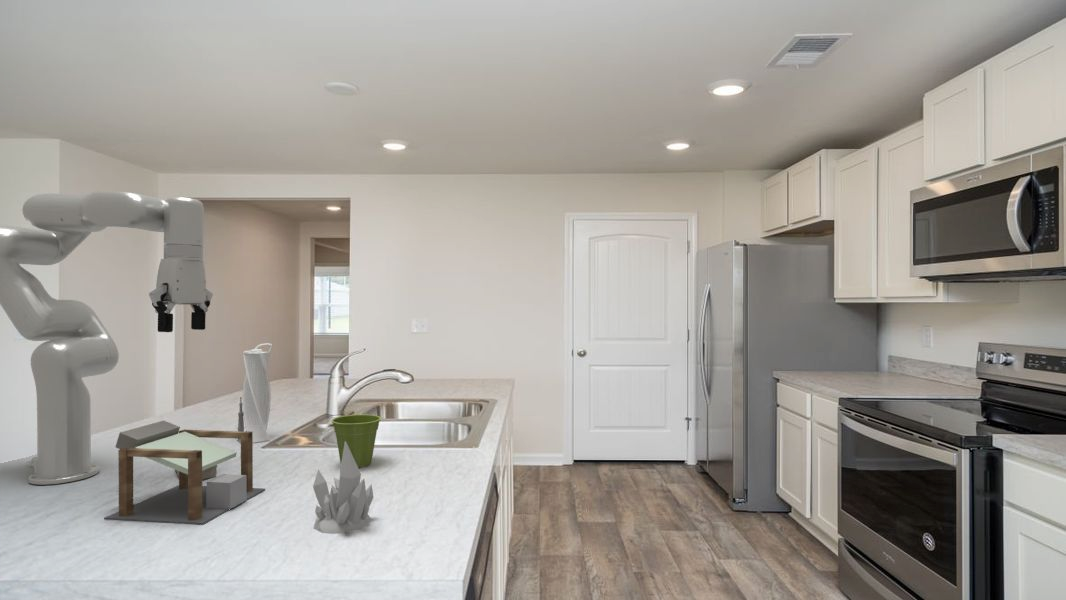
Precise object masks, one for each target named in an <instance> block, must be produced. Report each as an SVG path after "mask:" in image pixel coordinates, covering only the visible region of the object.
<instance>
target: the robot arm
mask: <svg viewBox="0 0 1066 600" xmlns="http://www.w3.org/2000/svg"><path fill="white" fill-rule="evenodd" d="M21 211H22V214H23V217H24V219H25V220H26V221H27V222H28V224H30V225H32V226H33V227H36V228H38V229H36V228H27V227H20V226H19V227H18V226H9V225H0V306H1V308H2V309H3V311H4V312H5V313H6V315H7V316H8V319H9V320H10V321H11V323H12V325H13V327H15V329H16V331H17V332H18V333H19V334H20V336H22V337H23V339H25V340H28V341H32V342H42V343H40V344H39V345H37V346H36V347H35V349H33V351H32V353H31V357H30V366H31V367H30V368H31V372H32V376H33V379H34V385H35V390H36V391H35V392H36V422H37V424H36V425H37V428H36V431H37V432H36V433H37V434H36V436H37V437H36V439H37V440H36V442H37V444H36V445H37V446H36V447H37V448H36V449H37V452H36V453H37V456H34V457H32V459H31V460H30V461H27V462H26V463H25V468H27V469H29V468H30V469H31V468H33V473H32V474H30V475H29V476H28V477H27V478H28V479H27V480H28V483H30V484H31V485H36V486H37V485H38V486H39V485H57V484H58V485H59V484H65V483H71V482H76V481H81V480H83V479H87V478H90V477H92V476H96V474H98V473H99V472H100V466H99V465H97V464H93V463H92V461H91V460H92V459H91V457H92V453H91V449H92V447H91V446H92V445H91V441H92V439H91V436H92V435H91V432H92V431H91V425H92V423H91V396H90V395H91V394H90V391H89V389H88V387H87V385H86V384H85V382H84V381H83V378H87V377H88V378H89V377H93V376H99V375H103V374H106V373H109V372H111V371H112V370H113V369H115V367H116V366H117V364H118V362H119V355H120V354H119V349H118V346H117V344H116V343H115V341H114V339H113V338H112V336H111V334H110V332H108V330H107V328H106V327H105V325H104V324H103V322H102V321H101V319H100V318H99V316H98V315H97V313H96V312H95V310H93V309H92V308H91V306H89V305H88V304H86V303H85V302H82V301H79V300H76V299H75V300H74V299H56V298H54V297H52V296H51V295H50V294H49V293H48V291H47V290H46V288H45V287H44V285H43V283H42V282H41V281H40V280H39V279H38V278H37V277H36V276H35V275H34V274H32V273H31V272H30V271H28V270H26V269H25V268H24V267H22V265H31V266H33V265H34V266H52V265H53V266H54V265H56V264H58V263H61V262H62V261H64V260H65V259H66V258H67V257H68V256H69V255H70V254H71V253H72V252H74V250H76V248H78V247H79V246H80V245H81V244H82V243H83V242H84V241H85V240H86V239H87V238H88V237H89V236H90V235H91V234H92V233H96V232H97V233H98V232H102V231H104V230H105V229H106V228H107V227H113V228H114V227H118V228H128V229H129V228H130V229H137V230H144V231H148V232H149V231H151V232H156V233H163V258H160V262H159V265H158V269H157V275H156V276H157V277H156V284H155V286H156V287H155V289H153V290H151V291H149V293H148V296H149V298H150V301H151V302H152V303H151V305H152V307H153V309H155V310H154V311H155V313H156V314H157V332H159V333H172V332H173V331H174V313H171V312H172V311H173V310H174V308H175V306H176V305H179V306H180V305H183V306H184V305H189V306H190V307H191V309H192V311H191V323H190V324H191V325H190V327H191V330H196V331H197V330H198V331H200V330H201V331H205V330H206V313H208V310H209V307H210V305H211V301H212V298H213V296H214V294H213V293H212V291H210V290H208V289H207V279H206V269H205V264H204V226H205V225H204V223H205V222H204V221H205V220H204V215H205V214H204V212H205V209H204V204H203V202H202V201H201V200H199V199H196V198H192V197H191V198H190V197H185V196H184V197H183V196H173V197H168V198H167V199H165V198H164V199H163V198H158V197H155V196H150V195H145V194H141V193H138V192H137V193H135V192H129V191H94V192H91V193H51V192H49V193H39V194H35V195H32V196H31V197H29V198H27V199H26V200H25V201H24V203H23V205H22V210H21ZM43 341H44V342H43Z"/></svg>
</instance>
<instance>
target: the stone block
mask: <svg viewBox="0 0 1066 600" xmlns="http://www.w3.org/2000/svg"><path fill="white" fill-rule="evenodd" d="M205 484H206V485H205V486H206V508H221V509H230V510H232V509H234V508H236V507H238V506H239V505H241V504H243V503H245V502H247V501H248V500H247V478H246V475H241V474H231V473H228V474H227V473H223V474H221V475H219V476H217V477H216V476H215V477H213V478H211V479H209V480H208V481H206V483H205ZM246 500H247V501H246ZM244 501H245V502H244ZM242 502H243V503H242ZM240 503H241V504H240ZM238 504H239V505H238ZM237 505H238V506H237ZM235 506H236V507H235ZM233 507H234V508H233ZM231 508H232V509H231Z"/></svg>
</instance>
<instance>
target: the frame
mask: <svg viewBox="0 0 1066 600" xmlns="http://www.w3.org/2000/svg"><path fill="white" fill-rule="evenodd" d="M182 432H187V433H190V434H192V435H195V436H197V437H200V438H212V439H213V438H214V439H235V440H238V439H241V443H240V475H246V478H247V492H250V491H251V490H253V488H254V487H253V485H254V483H253V482H254V480H253V479H254V476H253V473H254V472H253V468H254V467H253V466H254V464H253V462H254V461H253V457H254V456H253V455H254V454H253V451H254V449H253V448H254V446H253V444H254V443H253V434H252V432H248V431H246V430H244V432H241V431H238V430H237V431H236V430H235V431H234V430H208V429H207V430H205V429H181V430H179V432H178V434H179V433H182ZM117 452H118V453H117V455H118V511H119V516H128V515H130V514H133V513H134V508H133V505H134V457H136V458H137V457H139V458H143V457H144V458H146V457H157V458H183V459H188V474H185V473H183V472H180V471H179V476H178V485H179V489H188V520H197V519H199V518H201V517H202V486H203V481H202V450H167V449H140V448H123V449H118V451H117Z"/></svg>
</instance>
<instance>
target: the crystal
mask: <svg viewBox="0 0 1066 600" xmlns="http://www.w3.org/2000/svg"><path fill="white" fill-rule="evenodd" d="M361 477H362V473H361V471H360V469H359V468H358V466H357V464H356V462H355V460H354V458H353V456H352V453H351V451H350V449H349V447H348V445H347V443H346V441H345V443H344V449H343V456H342V462H341V463H340V469H339V479H338V478H335V477H333V480H334V481H333V482H334V485H335V486H334V485H333V484H332V485H331V488H330V491H329V488H328V483H327V480H326V479H325V477H324V475H323V474H322V472H321V471H320V469H318V470H317V472H316V476H315V479H314V483H313V485H312V487H313V491H314V494H315V497H316V499H317V502H318V504H319V506H318V505H317V504H316V506H315V510H314V513H315V516H316V519H315V521H314V525H313V530H316V531H318V532H320V533H322V534H329V535H330V534H331V535H336V534H345V533H350V532H353V531H357V530H361V529H363V528H364V527H366V526H368V525H369V524H371V516H370V515H369V510H370V506H371V504H372V502H373V500H374V491H373V487H372V484H370V485H369V486H368V488H366V480H365V478H363V479H362V480H361Z"/></svg>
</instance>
